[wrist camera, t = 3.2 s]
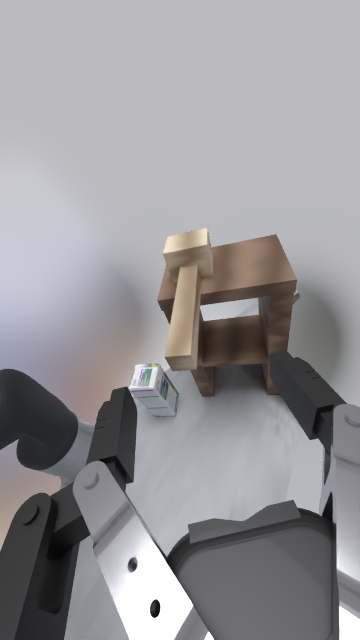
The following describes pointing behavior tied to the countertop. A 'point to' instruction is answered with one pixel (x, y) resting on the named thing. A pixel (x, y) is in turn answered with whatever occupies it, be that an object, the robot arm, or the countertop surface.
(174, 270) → the mallet
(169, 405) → the syrup box
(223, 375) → the countertop surface
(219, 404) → the countertop surface
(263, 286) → the shelf
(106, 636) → the countertop surface
